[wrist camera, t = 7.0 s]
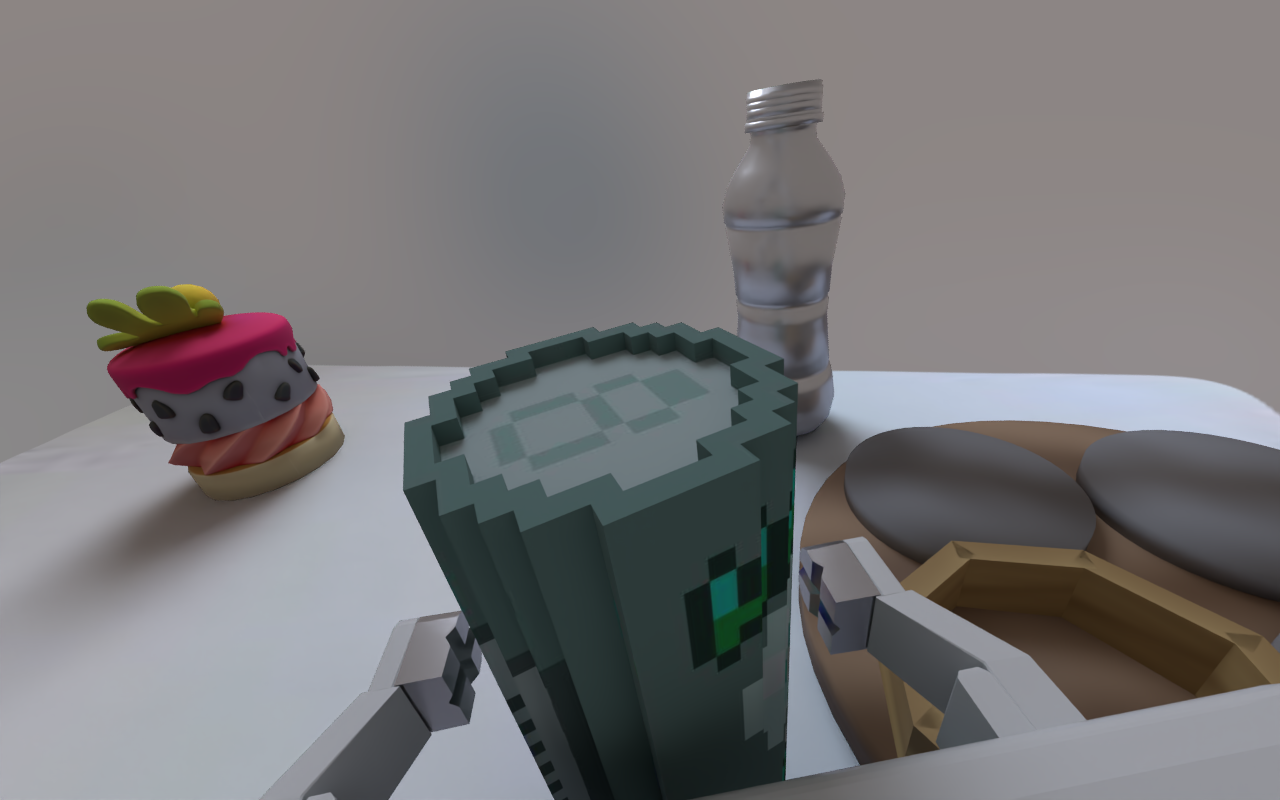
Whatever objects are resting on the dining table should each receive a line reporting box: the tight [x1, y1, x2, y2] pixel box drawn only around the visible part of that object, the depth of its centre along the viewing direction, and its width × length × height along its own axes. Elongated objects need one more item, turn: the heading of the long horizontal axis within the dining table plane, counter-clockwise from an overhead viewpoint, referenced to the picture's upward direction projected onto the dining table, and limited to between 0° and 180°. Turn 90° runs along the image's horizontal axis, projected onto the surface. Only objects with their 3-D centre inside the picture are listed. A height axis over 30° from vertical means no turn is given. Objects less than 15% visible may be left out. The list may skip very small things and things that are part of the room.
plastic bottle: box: [722, 80, 845, 436], centre depth 28 cm, size 6×7×20 cm
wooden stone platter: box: [799, 421, 1280, 765], centre depth 16 cm, size 24×24×4 cm
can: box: [403, 322, 798, 800], centre depth 11 cm, size 6×6×15 cm
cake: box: [87, 284, 345, 501], centre depth 34 cm, size 10×10×15 cm
